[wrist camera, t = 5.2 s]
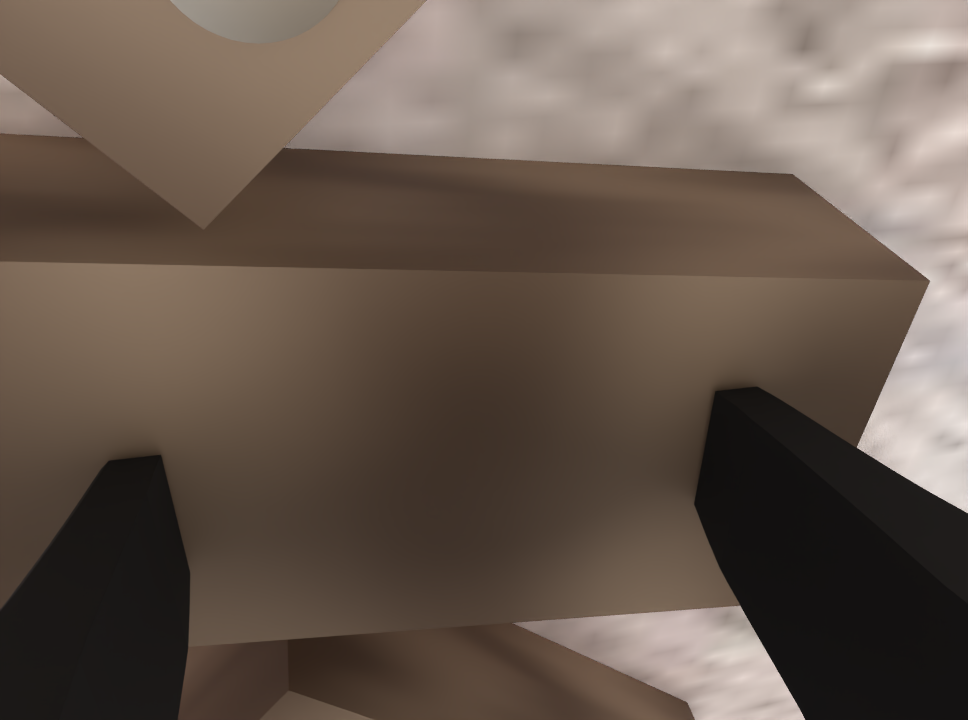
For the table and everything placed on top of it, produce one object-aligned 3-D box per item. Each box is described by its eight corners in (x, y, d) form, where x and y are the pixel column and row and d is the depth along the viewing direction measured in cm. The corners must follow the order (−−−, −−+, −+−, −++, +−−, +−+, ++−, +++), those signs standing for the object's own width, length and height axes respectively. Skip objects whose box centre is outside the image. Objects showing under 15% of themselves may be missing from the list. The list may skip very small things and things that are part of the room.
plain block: (49, 468, 15) (-11, 661, 12) (-11, 124, 12) (-115, 259, 9) (693, 450, 18) (788, 601, 15) (784, 167, 15) (930, 280, 12)
